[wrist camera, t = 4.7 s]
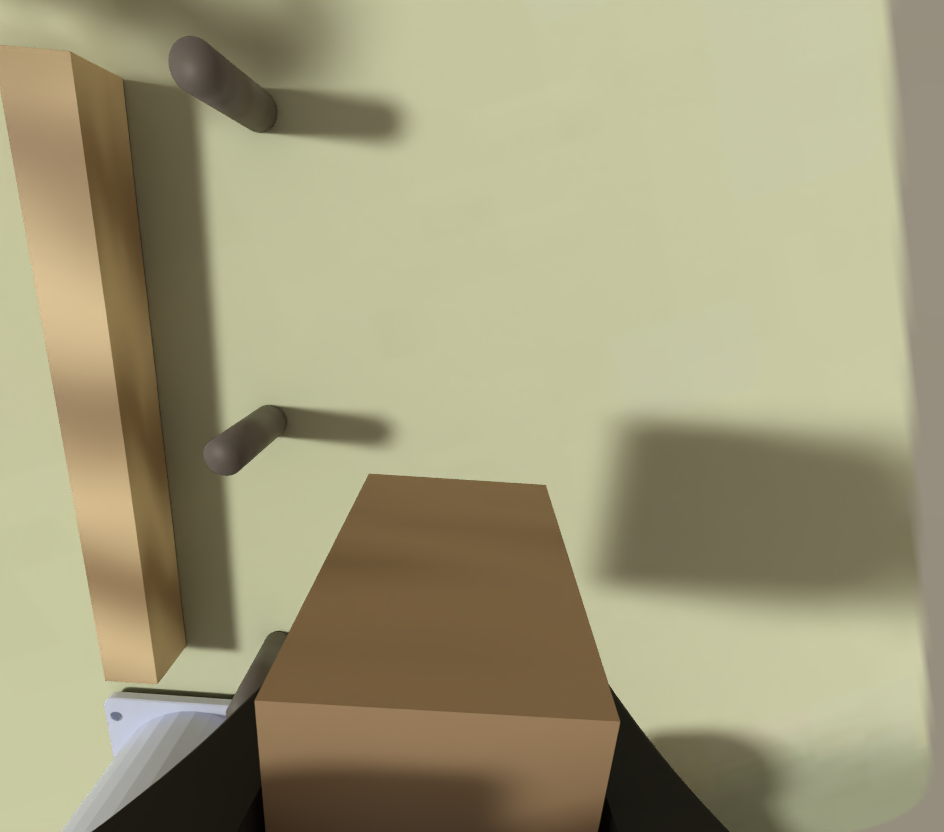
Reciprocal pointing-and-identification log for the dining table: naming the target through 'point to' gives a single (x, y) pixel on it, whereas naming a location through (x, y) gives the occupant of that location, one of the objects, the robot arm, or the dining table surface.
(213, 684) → the dining table surface
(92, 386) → the ledge
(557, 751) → the wooden box
